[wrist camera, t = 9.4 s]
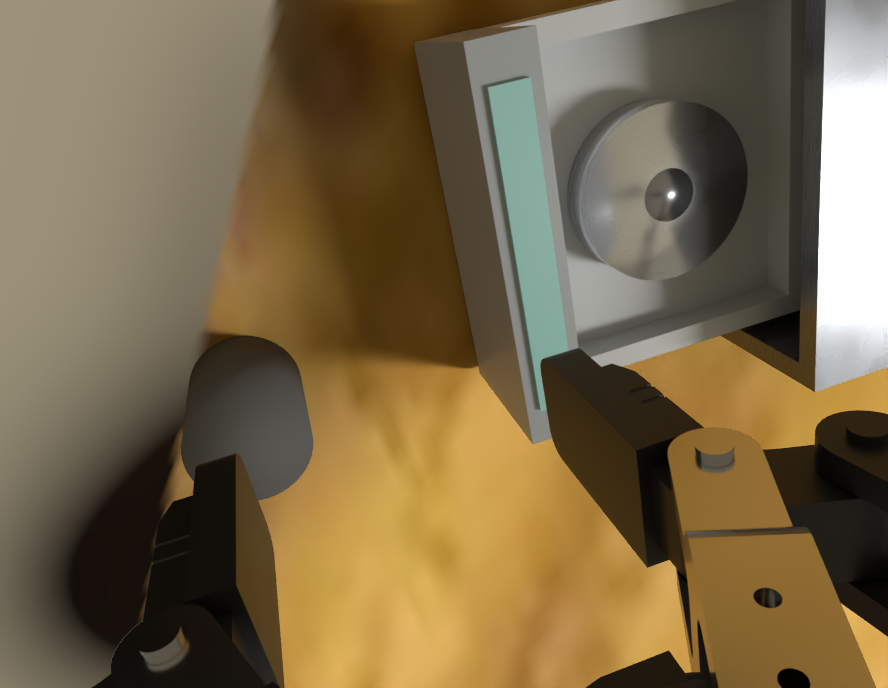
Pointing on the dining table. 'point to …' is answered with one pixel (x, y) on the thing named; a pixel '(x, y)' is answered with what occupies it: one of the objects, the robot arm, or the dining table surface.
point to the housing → (838, 205)
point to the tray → (551, 158)
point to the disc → (657, 187)
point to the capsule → (248, 413)
